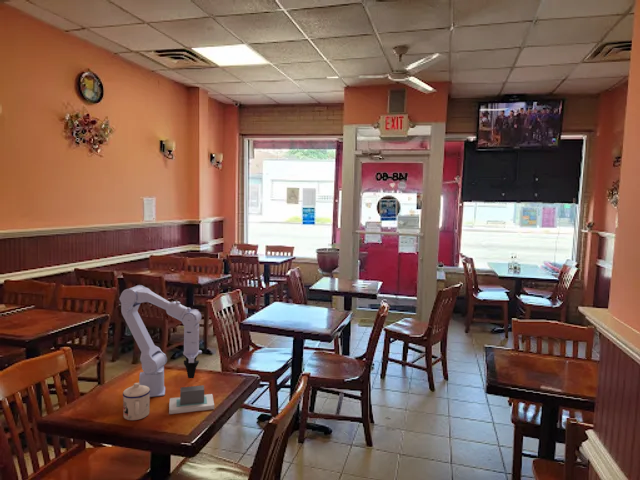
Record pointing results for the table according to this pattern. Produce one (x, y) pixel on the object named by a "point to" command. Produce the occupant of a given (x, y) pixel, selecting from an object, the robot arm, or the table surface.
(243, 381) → the table surface
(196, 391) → the block
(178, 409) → the pin board
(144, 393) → the teacup with lid
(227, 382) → the table surface
